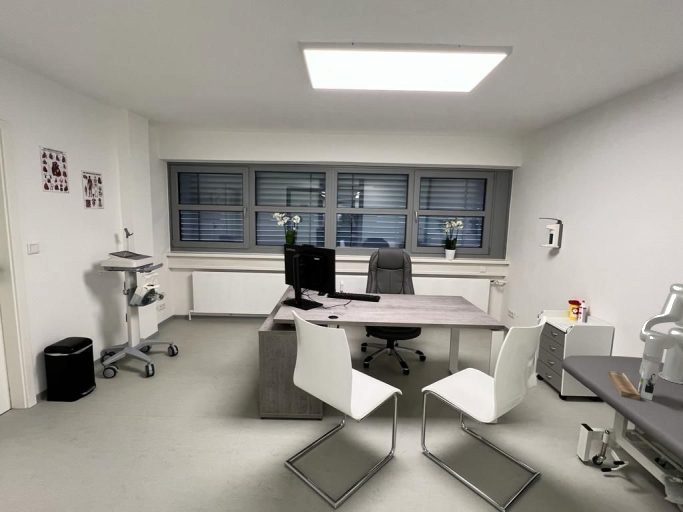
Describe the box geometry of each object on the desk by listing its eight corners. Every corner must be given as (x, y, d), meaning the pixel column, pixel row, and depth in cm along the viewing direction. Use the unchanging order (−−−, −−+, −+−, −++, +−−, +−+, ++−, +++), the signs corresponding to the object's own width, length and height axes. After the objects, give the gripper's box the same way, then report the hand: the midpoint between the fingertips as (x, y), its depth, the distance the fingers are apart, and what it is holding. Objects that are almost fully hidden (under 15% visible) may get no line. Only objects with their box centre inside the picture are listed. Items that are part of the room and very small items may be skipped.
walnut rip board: (624, 378, 200) (625, 373, 200) (639, 400, 177) (641, 395, 176) (607, 375, 203) (608, 370, 203) (620, 396, 180) (621, 390, 180)
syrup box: (637, 392, 185) (641, 367, 183) (651, 396, 181) (656, 371, 179) (637, 396, 180) (642, 371, 178) (652, 401, 177) (657, 375, 174)
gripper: (637, 350, 187) (631, 380, 189) (649, 363, 171) (642, 395, 174) (654, 353, 183) (649, 383, 186) (668, 366, 168) (661, 399, 171)
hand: (646, 389), depth 180 cm, fingers closed on syrup box, 6 cm apart
